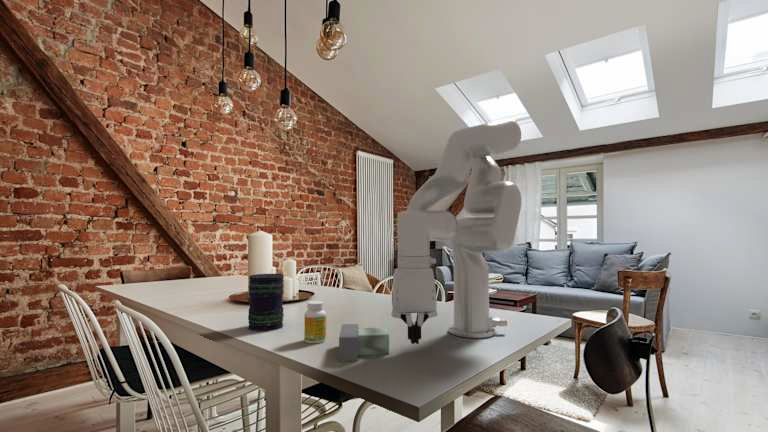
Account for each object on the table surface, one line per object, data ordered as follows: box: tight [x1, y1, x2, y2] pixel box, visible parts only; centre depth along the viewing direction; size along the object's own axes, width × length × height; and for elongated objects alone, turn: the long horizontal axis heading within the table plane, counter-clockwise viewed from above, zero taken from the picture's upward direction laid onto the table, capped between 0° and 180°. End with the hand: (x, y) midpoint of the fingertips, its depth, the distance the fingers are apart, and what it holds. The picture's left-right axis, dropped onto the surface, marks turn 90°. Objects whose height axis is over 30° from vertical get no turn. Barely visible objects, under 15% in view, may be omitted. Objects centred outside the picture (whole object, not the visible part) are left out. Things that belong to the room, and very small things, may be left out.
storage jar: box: [247, 273, 285, 332], centre depth 113 cm, size 10×10×15 cm
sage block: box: [358, 327, 390, 356], centre depth 92 cm, size 7×7×4 cm
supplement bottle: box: [303, 300, 327, 344], centre depth 99 cm, size 5×5×10 cm
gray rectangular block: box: [338, 323, 359, 362], centre depth 90 cm, size 4×12×5 cm, turn 3°
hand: (414, 342), depth 91 cm, fingers closed
